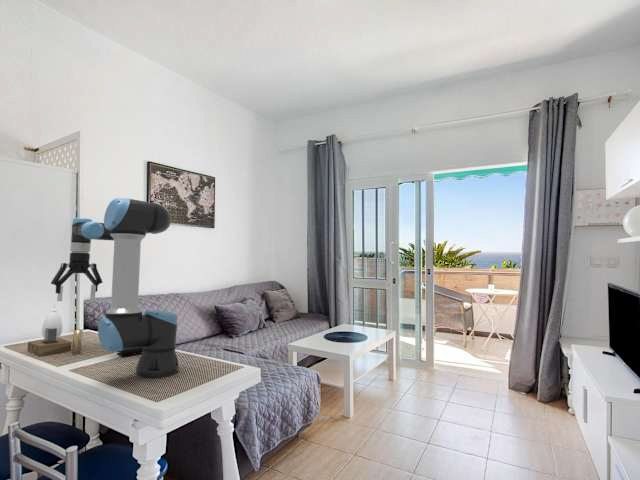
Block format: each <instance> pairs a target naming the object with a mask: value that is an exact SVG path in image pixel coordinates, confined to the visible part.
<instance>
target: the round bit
mask: <svg viewBox="0 0 640 480" xmlns="http://www.w3.org/2000/svg"><path fill="white" fill-rule="evenodd" d="M83 331H84V330H83V329H80V328H79V329H74V330H73V339H72V346H71V355H74V356H75V355H80V354H81V351H82V343H83V334H84V333H83Z"/></svg>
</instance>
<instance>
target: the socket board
mask: <svg viewBox="0 0 640 480" xmlns="http://www.w3.org/2000/svg"><path fill="white" fill-rule="evenodd" d="M44 340H45V339H40V340H34V341H33V340H31V341H28V342H27V352H28V351H29V352H28V353H30V352H31V353H30V354H32V353H33V354H32V355H34V354H35V355H34V356H36V355H37V356H36V357H45V356H46V357H47V356H51V355H52V356H53V355H56V354H64V353H70V352H71V353H72V346H73V341H72V342H71V341H69V340H67V339H64V338H61V337H59V338H56V343H50V344H44Z"/></svg>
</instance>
